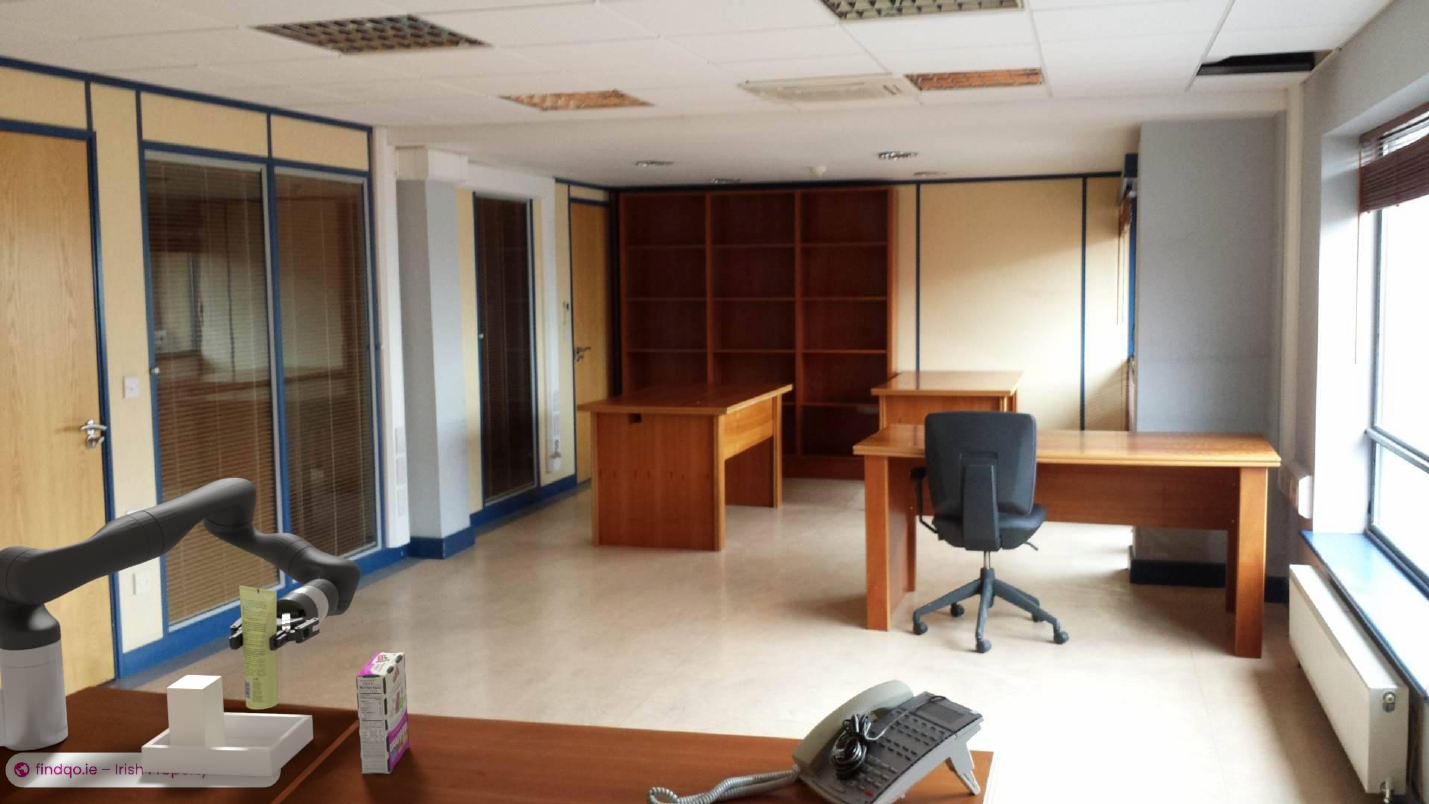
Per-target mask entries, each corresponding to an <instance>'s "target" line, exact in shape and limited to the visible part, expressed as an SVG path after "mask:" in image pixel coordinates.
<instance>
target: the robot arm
mask: <svg viewBox="0 0 1429 804" xmlns="http://www.w3.org/2000/svg"><path fill="white" fill-rule="evenodd" d="M257 498H258V496H257V487H256V486H255V485H254V483H253V482H252V481H250V480H248V479H246V478H241V477H227V478H221V479H218V480H215V481H213V482H209V483H207V484H206V485H203V486H201V487H198V488H196V489H194V490H192V491H190V492H188V493H186V494H183V495H181V496H178V497H177V498H174V499H170V500H167V501H166V502H163V503H160V504H158V505H155V506H151V507H147V508H144V509H141V510H138V511H134V512H131V513H128V514H125V515H122V516H120V517H116V518H115V519H112V520H110V521H108V522H107V523H105V525H103V526H101V527H100V528H99V529H98V530H97V531H96V532H95V533H94V534H92V535H91V536H90V537H89V538H86V539H84V540H82V541H79V542H78V541H77V542H76V543H72V544H68V545H65V546H60V547H55V548H50V549H49V548H47V549H46V548H43V549H42V548H36V547H28V546H20V545H15V546H14V545H13V546H8V547H5V548H3V549H1V550H0V747H5V748H7V749H8V750H11V751H12V750H13V751H29V750H30V751H31V750H32V751H33V750H38V749H43V748H48V747H49V746H53V745H56V744H58V743H60V742H63V741H64V740H65V739H66V738H67V737H68V735H69V732H68V718H67V717H68V716H67V704H66V703H67V700H66V689H65V688H66V686H65V685H66V684H65V673H64V671H65V669H64V659H63V658H64V657H63V646H62V631H61V624H60V622H59V621H58V619H57V618H56V617H54V616H53V615H52V614H51V613H50V611H49V610H48V609H47V607H46V605H45V604H46V603H49V602H52V601H54V600H57V599H59V598H61V597H63V596H65V595H67V594H68V593H70V592H72V591H74V590H76V589H78V588H80V587H82V586H84V585H86V584H88V583H91V582H93V581H95V580H97V579H100V578H103V577H106V576H110V575H113V574H115V573H118V572H121V571H124V570H126V569H128V568H133V567H135V566H138V565H139V566H140V565H141V564H144V563H146V562H149V561H153V560H155V559H157V558H159V557H162V556H164V555H165V554H167V553H168V552H170V551H171V550H172V549H174V548H175V547H176V545H178V544H179V543H180V542H181V541H182V540H183V539H184V538H185V537H186V536H187V535H188V534H189V533H190V532H191V531H192V530H193V529H194V528H195V527H196V526H197V525H198V524H199V523H201V522H202V521H203V523H202V524H203V527H204V528H205V530H206V531H207V532H208V533H209V534H211V535H212V536H214V537H215V538H217V539H219V540H221V541H222V542H223V541H224V542H226V543H228V544H229V545H232V546H233V547H236V548H238V549H239V550H242V551H243V552H244V551H245V552H247V553H249V554H251V555H253V556H256V557H259V558H260V559H263V560H265V561H266V562H268V563H270V564H271V565H273V566H274V567H276V568H277V569H278V570H280V571H282V572H283V573H284V574H285V575H286V576H289V578H291V579H292V580H294V581H295V582H297V583H299V584H301V585H302V586H300V587H299V588H295V589H293V590H292V591H289V592H288V593H287V594H285V595H283V596H282V597H280V598H279V599H277V604H276V622H277V633H276V634H274V635H273V636H271V637H270V639H269V646H270V651H275V650H277V651H278V649H280V648H282V647H283V646H284V645H289V644H291V643H292V642H295V644H302V643H305V642H306V641H308V640H310V639H311V638H313V637H315V636H317V635H318V634H320V632H321V631H320V624H321V622H322V621H324V619H326V618H327V617H332V616H333V617H334V616H341V615H344V614H345V613H346V612H347V610H348V609H349V608H350V606H351V604H352V602H353V599H354V596H355V594H356V591H357V589H358V586H359V583H360V580H361V577H362V572H361V569H360V567H359V565H358V564H357V563H356V562H354V561H353V560H350V559H348V558H344V557H340V556H336V555H333V554H330V553H327V552H324V551H322V550H320V549H318V548H317V547H315V546H314V545H312V544H311V543H310V542H308V541H307V540H305V539H304V538H302V537H301V536H299V535H296V534H294V533H289V532H278V533H263V532H261V531H260V530H258V529H257V527H255V526H254V524H253V523H254V516H255V510H256V504H257V500H258V499H257ZM229 629H230V637H229V639H228V640H229V641H228V643H229V648H230V650H231V651H237V650H239V649H240V648H241V647H243V635H242V619H241V617H239V618H238V619H237V620H236V621H235V622H233V624H232V625H230V626H229Z"/></svg>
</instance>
